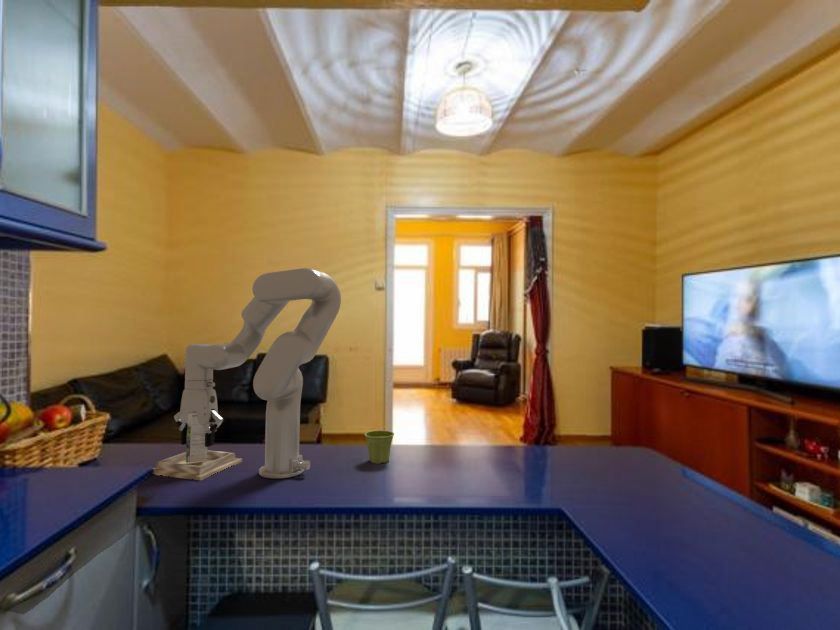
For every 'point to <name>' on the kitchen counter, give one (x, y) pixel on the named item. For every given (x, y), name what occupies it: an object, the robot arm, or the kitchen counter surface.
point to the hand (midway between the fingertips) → (197, 444)
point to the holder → (195, 465)
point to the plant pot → (379, 445)
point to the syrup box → (195, 440)
